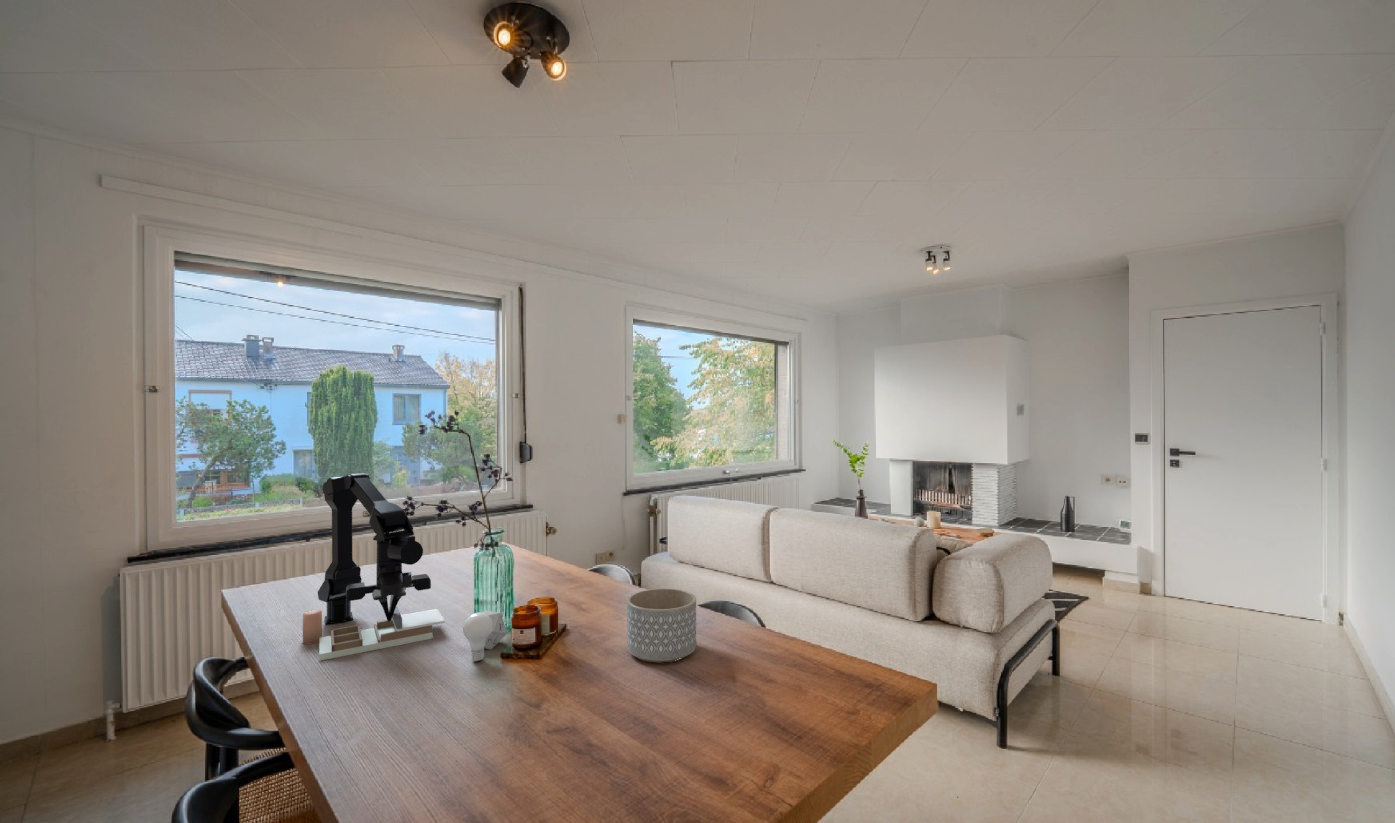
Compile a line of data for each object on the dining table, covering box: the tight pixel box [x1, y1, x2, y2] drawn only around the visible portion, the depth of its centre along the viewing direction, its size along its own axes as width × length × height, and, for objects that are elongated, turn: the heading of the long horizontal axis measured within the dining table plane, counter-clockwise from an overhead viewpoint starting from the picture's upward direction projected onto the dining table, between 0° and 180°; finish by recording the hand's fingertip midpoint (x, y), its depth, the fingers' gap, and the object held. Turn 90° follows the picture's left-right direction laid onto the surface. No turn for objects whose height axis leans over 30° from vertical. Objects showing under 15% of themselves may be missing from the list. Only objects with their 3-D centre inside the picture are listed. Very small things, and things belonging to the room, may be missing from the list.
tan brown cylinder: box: [302, 609, 323, 645], centre depth 144 cm, size 4×4×7 cm
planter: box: [626, 588, 697, 663], centre depth 137 cm, size 16×16×13 cm
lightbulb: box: [462, 611, 493, 663], centre depth 132 cm, size 6×6×11 cm
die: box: [480, 609, 509, 651], centre depth 141 cm, size 8×9×10 cm
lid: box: [392, 606, 446, 632], centre depth 149 cm, size 11×11×3 cm
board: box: [318, 619, 434, 662], centre depth 144 cm, size 12×24×3 cm, turn 123°
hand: (389, 620), depth 145 cm, fingers closed
